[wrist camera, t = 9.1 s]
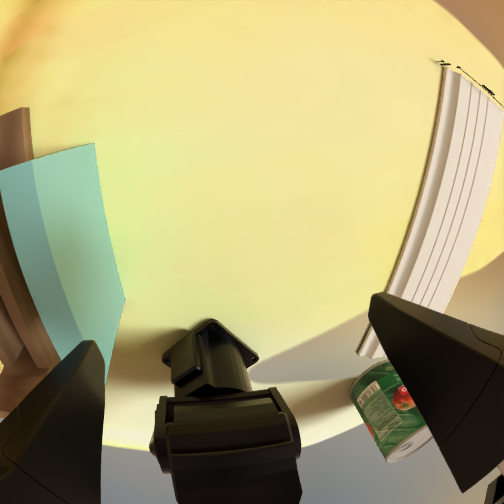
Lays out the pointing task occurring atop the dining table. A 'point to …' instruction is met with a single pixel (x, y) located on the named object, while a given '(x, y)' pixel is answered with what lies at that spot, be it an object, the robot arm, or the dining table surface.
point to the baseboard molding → (447, 200)
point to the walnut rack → (18, 289)
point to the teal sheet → (65, 247)
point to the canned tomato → (389, 412)
